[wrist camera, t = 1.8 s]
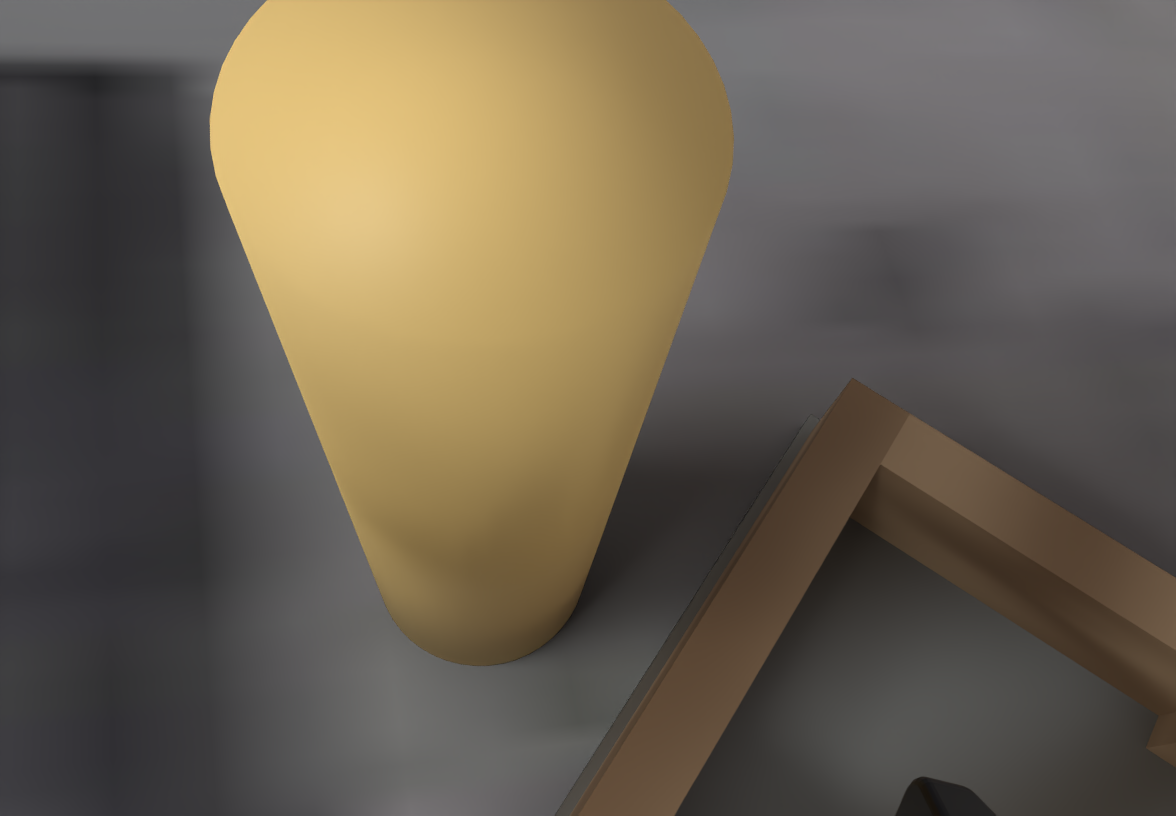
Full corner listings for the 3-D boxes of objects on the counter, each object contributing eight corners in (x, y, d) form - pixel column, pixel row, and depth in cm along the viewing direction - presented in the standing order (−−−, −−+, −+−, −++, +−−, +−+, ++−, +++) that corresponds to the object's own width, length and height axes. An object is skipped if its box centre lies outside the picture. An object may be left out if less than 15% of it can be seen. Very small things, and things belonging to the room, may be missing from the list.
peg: (549, 694, 19) (658, 419, 7) (344, 627, 19) (111, 247, 7) (610, 498, 21) (782, 7, 9) (421, 438, 21) (335, -127, 9)
